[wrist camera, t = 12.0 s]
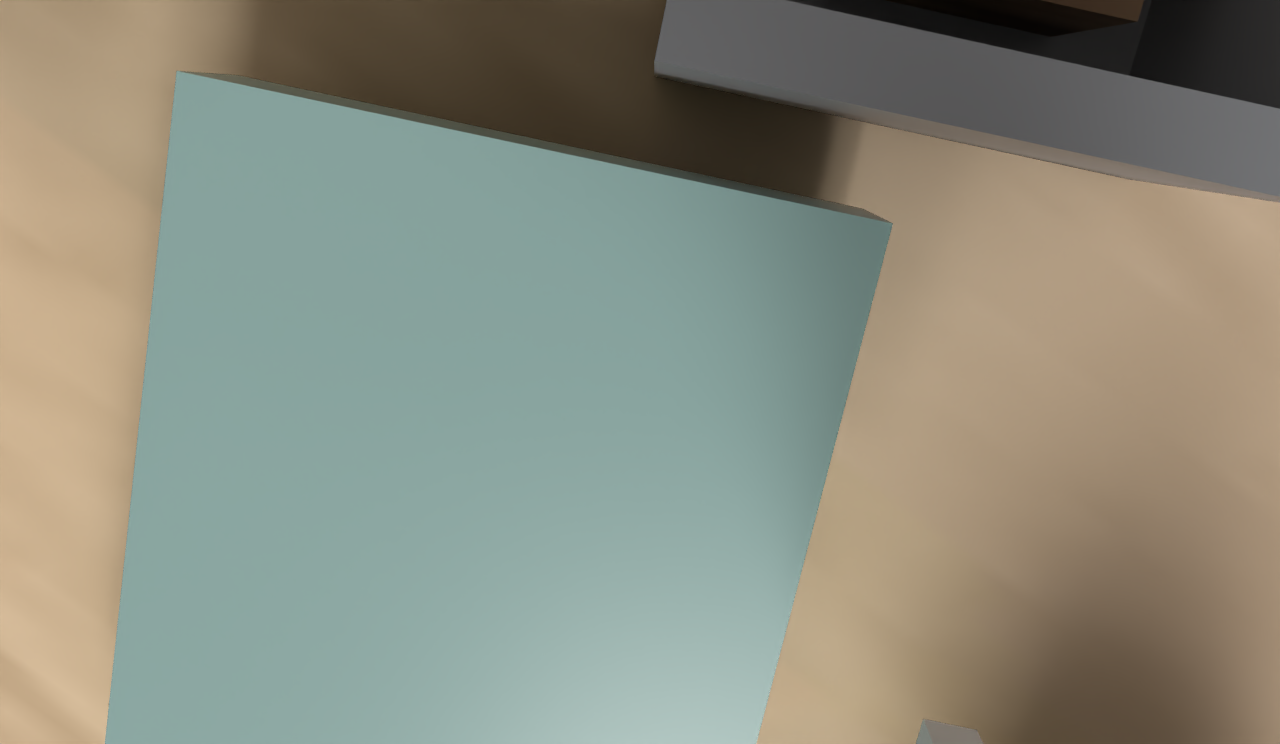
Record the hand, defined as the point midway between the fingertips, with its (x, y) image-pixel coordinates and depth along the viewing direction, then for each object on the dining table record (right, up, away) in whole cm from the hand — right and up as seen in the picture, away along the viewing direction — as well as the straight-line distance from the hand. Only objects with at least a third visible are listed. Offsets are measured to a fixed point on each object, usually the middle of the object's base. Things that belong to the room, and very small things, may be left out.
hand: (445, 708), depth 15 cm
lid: (0, +1, +5) cm, 6 cm away
